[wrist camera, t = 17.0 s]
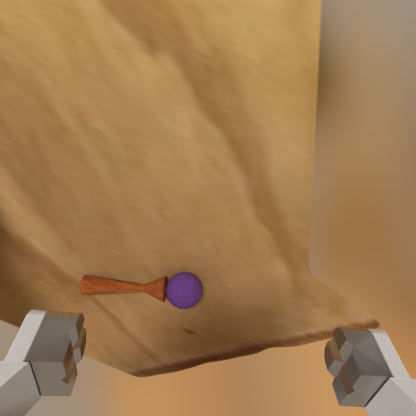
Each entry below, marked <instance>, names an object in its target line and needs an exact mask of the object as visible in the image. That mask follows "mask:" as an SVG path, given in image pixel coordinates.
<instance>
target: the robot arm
mask: <svg viewBox="0 0 416 416" xmlns="http://www.w3.org/2000/svg"><path fill="white" fill-rule="evenodd" d="M83 323H84V315H83V313H73V312H59V311H47V310H30V312H29V313H28V314H27V315H26V317H25V319H24V321H23V323H22V325H21V327H20V329H19V331H18V333H17V334H16V337H15V338H14V340H13V342H12V344H11V346H10V348H9V351H8V352H7V354H6V356H5V358H4V360H3V361H0V416H24V415H25V414H26V413H27V412H28V411H29V410H30V409H31V408H32V407H33V406H34V405H35V403H36V402H37V401H38V400H39V399H40V398H41V397H40V396H71V393H72V389H73V386H74V383H75V380H76V376H77V369H76V364H77V363H78V362H80V361H81V360H82V357H83V353H84V350H85V344H86V329H85V328H84V327H83ZM332 334H333V337H334V338H333V339H331V340H330V341H328V342H327V345H326V347H325V354H324V357H325V363H326V366H327V370H328V371H329V372H330V373H331V374H332V375H333V376H334V377H335V378H334V381H333V383H332V385H333V388H334V391H335V394H336V397H337V400H338V403H339V405H340V406H357V407H365V410H366V411H367V412H368V413H369V414H370V416H416V379H414V378H410V376H409V374H408V373H407V371H406V369H405V367H404V365H403V363H402V361H401V359H400V358H399V356H398V354H397V352H396V350H395V349H394V346H393V345H392V343H391V341H390V339H389V337H388V336H387V334H386V332H385V331H384V330H381V329H366V328H348V327H338V328H336V329H335V330H334V331H333V333H332Z"/></svg>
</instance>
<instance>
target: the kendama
mask: <svg viewBox="0 0 416 416" xmlns="http://www.w3.org/2000/svg"><path fill="white" fill-rule="evenodd" d="M143 291H144V292H146V293H148V294H149V295H151V296H153V297H155V298H157V299H159V300H160V301H162V302H164V301H165V298H166V294H167V298H168V300H169V301H170V303H171V304H172V305H173V306H175V307H177V308H179V309H187V308H190V307H193V306H194V305H195V304H196V303H197V302H198V301H199V299H200V297H201V295H202V286H201V283H200V280H199V279H198V278H197V277H196V276H195V275H193V274H191V273H187V272H181V273H178V274H175V275H174V276H173V277H172V278H171V279H170V280H169V282H168V284H167V278H166V277H163V278H161V279H158V280H156V281H153V282H151V283H148V284H146V285H142V284H136V283H130V282H124V281H118V280H112V279H106V278H100V277H94V276H88V275H84V276H83V278H82V280H81V285H80V292H81V294H82V295H93V294H110V293H126V292H143Z"/></svg>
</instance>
